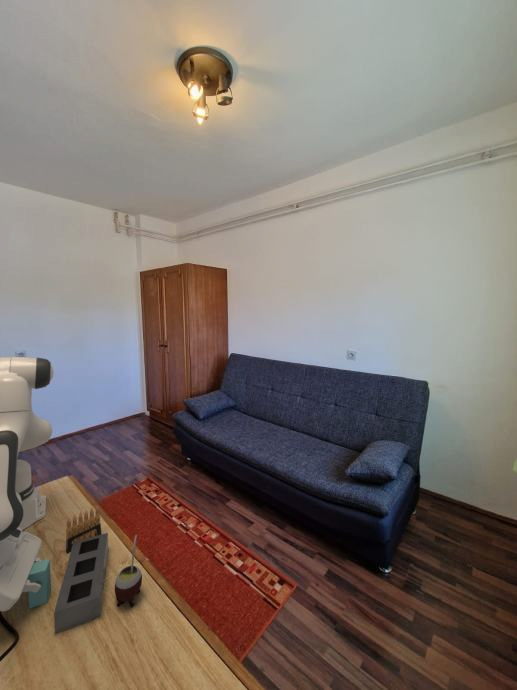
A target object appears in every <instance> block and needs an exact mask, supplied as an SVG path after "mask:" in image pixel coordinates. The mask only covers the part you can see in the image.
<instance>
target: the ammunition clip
mask: <svg viewBox="0 0 517 690" xmlns="http://www.w3.org/2000/svg"><path fill="white" fill-rule="evenodd" d="M89 511H90V512H89V513H88V511H87V510H86V509H85V511H84V516H83V514H82V513H81V512H79V513H78V514H79V515H78V521H77V517H76V515H75V514H74V515H73V517H72V521H71V518H70V517H68V518H67V519H66V530H65V552H66V554H70V553H71V549H72V546H73V542H74V541H78V540H82V539H85V538H89V537H93V536H97V535H101V534H102V526H101V525H102V524H101V515H100V507H99V505H96V507H95V511H94V509H93V507H91V508H90V510H89ZM83 517H84V518H83Z"/></svg>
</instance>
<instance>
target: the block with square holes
mask: <svg viewBox="0 0 517 690" xmlns="http://www.w3.org/2000/svg"><path fill="white" fill-rule="evenodd" d="M72 544H73V546H72V549H71V552H69V558H68V561H67V565H66V567H65V571H64V572H65V573H64V575H63V579H62V582H61V587H60V590H59V593H58V597H57V600H56V604H55V608H54V611H53V618H54V619H53V620H54V621H53V622H54V634H55V635H56V634H59V633H62V632H64V631H67V630H69V629H73V628H76V627H78V626H80V625H83V624H87V623H88V622H92V621H95V620H97V619H99V618H101V615H102V605H103V597H104V587H105V581H106V572H107V562H108V553H109V533H108V532H106V533H101V535H97V536H93V537H89V538H85V539H82V540H78V541H74V542H73V541H72Z"/></svg>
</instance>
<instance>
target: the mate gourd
mask: <svg viewBox="0 0 517 690" xmlns="http://www.w3.org/2000/svg"><path fill="white" fill-rule="evenodd" d="M137 537H138V534H135V536H134V540H133V545H132V549H131V565H127V566H126V567H124V568H122V570H120V571H119V573H118V575H117V576H116V578H115V583H114V584H115V585H114V593H115V594H114V595H115V600H116V602H117V604H116V605H117V606H116V607H117V608H119V607H121V606H122V605H124V604H126V603H127V602H128V604H129V606H130V608H131V609H132V608H134V607H135V603H134V600H135V597H136V596H138V595H139V594H141V586H142V583H143V574H142V571H141V569H140V567H139V566H136V565H134V563H135V562H134V561H135V552H136V543H137Z"/></svg>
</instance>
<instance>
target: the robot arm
mask: <svg viewBox="0 0 517 690" xmlns="http://www.w3.org/2000/svg"><path fill="white" fill-rule="evenodd" d="M51 363H52V362H51V361H50V360H48V359H47V358H44V357H43V358H41V357H36V358H34V357H26V356H6V357H5V356H4V357H1V356H0V612H6V611H9V610H10V609H11V608H12V607H14V605H15V604H16V603H17V602H18V601H19V599H20V598H21V595H22V593H28V591H32V592H34V593H36V592H37V591H38V590H39V589H40V588H41V585H42V582H40V581H38V580H37V581H36V582H35V583H30V580H28V576H29V573H30V571H31V569H32V566H33V564H34V563H36V562H39V561H42V560H41V558H40V557H38V553H39V551H40V549H41V547H42V544H43V542H42V540H41V539H40V537H38V536H36V535H34V534H32V533H30V532H28V531H23V530H25V529H27V528H29V527H31V526H32V524H34V523H35V522H37V521H39V520H41V519H43V518H45V517H46V511H47V501H46V498H47V495H44V494H43V495H42V494H41V492H40V488H38V487H35V485H34V482H35V477H34V476H33V477H32V467H31V464H30V463H29V462H28V461H27V460H24V459H18V458H19V457H18V456H19V453H20V452H25V451H28V450H30V449H35V448H37V447H40V446H41V445H43V444H45V443H48V442H49V440H50V439H51V438H52V434H53V427H52V425H51V423H50V422H49V421H48V420H46V419H44V418H40V417H39V416H37V415H36V414H35V413H34V411H33V406H32V396H33V395H32V394H33V392H32V390H33V389H35V390H39V389H43V388H46V387H47V386H48V385H50V382H51V381H52V379H53V378H54V368H53V365H52V364H51ZM47 499H48V498H47Z"/></svg>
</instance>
